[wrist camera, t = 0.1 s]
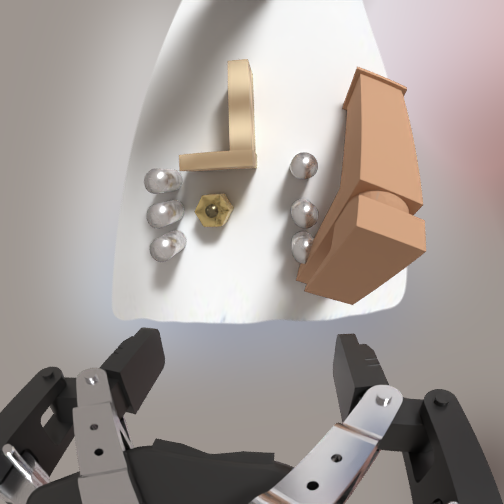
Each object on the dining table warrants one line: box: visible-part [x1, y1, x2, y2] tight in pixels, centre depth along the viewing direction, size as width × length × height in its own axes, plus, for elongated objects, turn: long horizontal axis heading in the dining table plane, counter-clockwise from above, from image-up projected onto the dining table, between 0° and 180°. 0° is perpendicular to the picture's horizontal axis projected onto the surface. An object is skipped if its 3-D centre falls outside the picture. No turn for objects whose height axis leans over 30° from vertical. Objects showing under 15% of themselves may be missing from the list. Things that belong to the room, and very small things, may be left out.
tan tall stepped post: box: [296, 67, 426, 305], centre depth 33 cm, size 7×23×25 cm
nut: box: [194, 194, 233, 227], centre depth 39 cm, size 4×5×3 cm
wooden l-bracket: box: [179, 59, 257, 172], centre depth 34 cm, size 14×9×6 cm, turn 2°
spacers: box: [144, 153, 318, 264], centre depth 37 cm, size 14×22×6 cm, turn 92°
